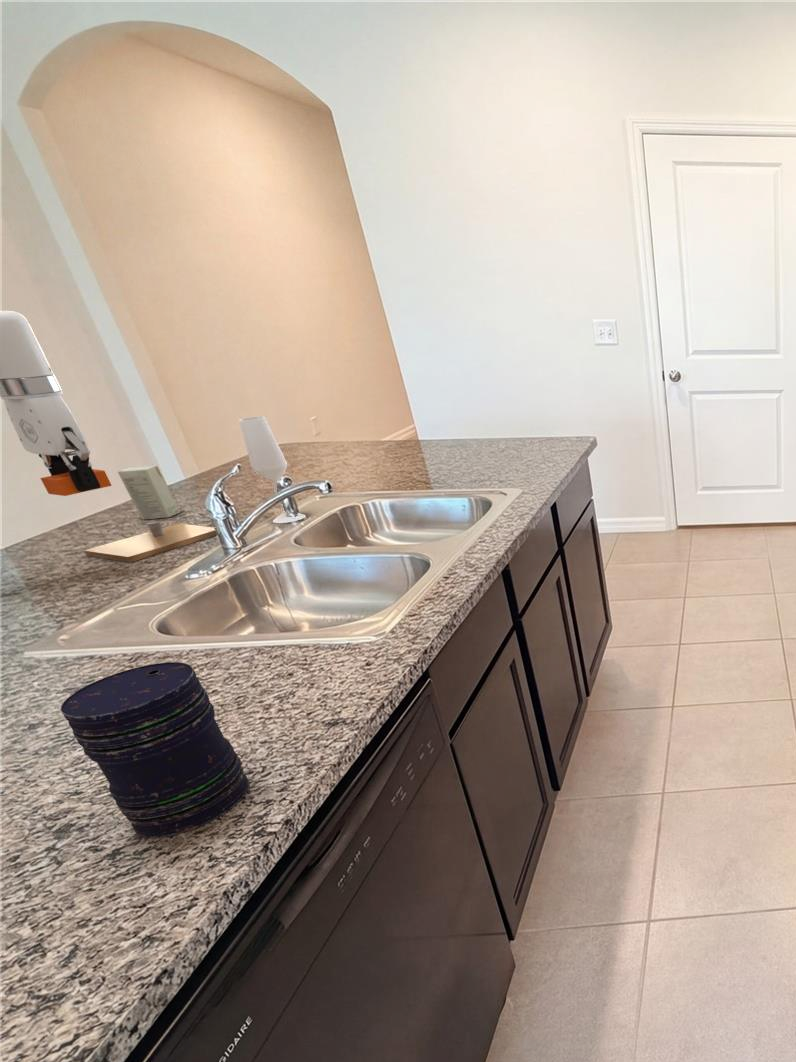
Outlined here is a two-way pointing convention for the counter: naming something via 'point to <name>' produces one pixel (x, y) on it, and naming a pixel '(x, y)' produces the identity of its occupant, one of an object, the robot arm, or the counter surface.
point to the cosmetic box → (149, 492)
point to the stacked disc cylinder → (158, 747)
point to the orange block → (70, 483)
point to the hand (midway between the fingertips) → (79, 487)
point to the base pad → (152, 542)
